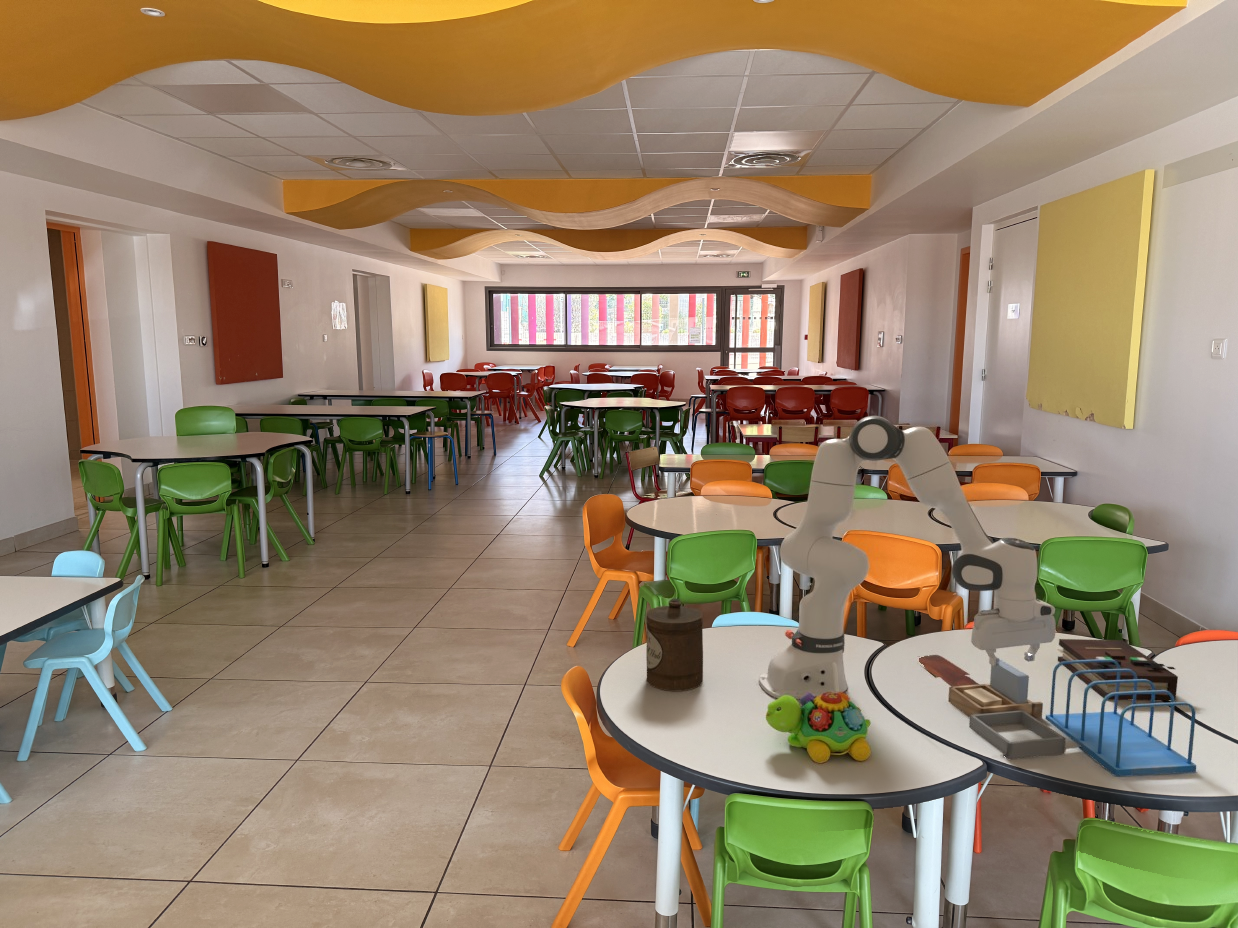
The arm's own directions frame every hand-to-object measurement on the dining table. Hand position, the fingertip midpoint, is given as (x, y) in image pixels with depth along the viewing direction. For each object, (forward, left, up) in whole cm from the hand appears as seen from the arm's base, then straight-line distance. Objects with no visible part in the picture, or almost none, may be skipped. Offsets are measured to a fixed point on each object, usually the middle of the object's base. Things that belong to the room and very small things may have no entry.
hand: (1011, 662), depth 197 cm
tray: (-9, -15, -12) cm, 21 cm away
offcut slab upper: (-8, -1, -9) cm, 12 cm away
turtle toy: (-52, -8, -12) cm, 54 cm away
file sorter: (+11, -21, -12) cm, 26 cm away
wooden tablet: (-1, +23, -13) cm, 26 cm away
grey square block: (-1, -1, -11) cm, 11 cm away
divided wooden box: (-4, -1, -12) cm, 13 cm away
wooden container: (-74, +33, -12) cm, 82 cm away
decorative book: (+38, +11, -13) cm, 42 cm away
